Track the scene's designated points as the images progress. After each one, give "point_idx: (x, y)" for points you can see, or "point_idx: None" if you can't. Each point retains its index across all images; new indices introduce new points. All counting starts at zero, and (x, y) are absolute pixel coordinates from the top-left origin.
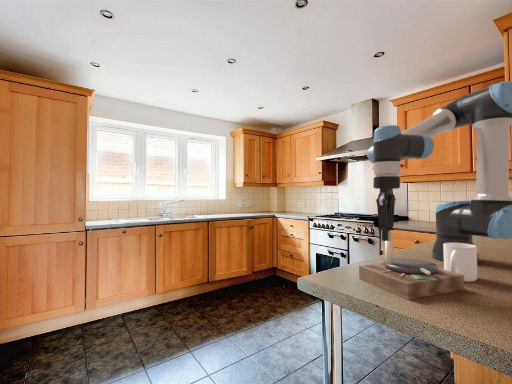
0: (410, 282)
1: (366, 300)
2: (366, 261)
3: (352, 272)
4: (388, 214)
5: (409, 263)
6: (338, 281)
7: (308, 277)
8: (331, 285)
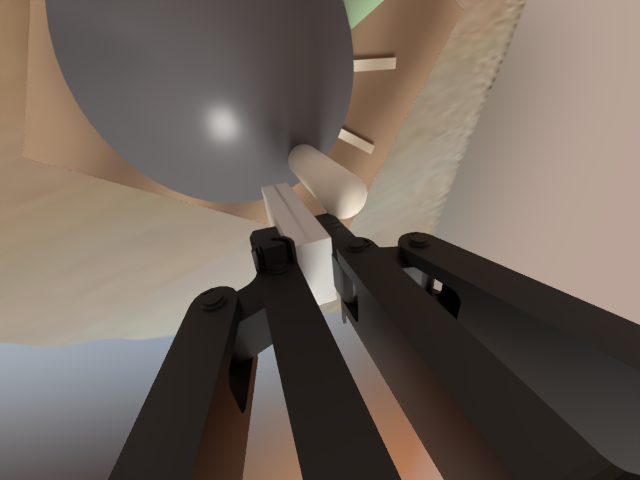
0: (442, 3)
1: (471, 121)
2: (84, 335)
3: None
4: (499, 364)
5: (224, 78)
6: (380, 243)
7: None
8: None
